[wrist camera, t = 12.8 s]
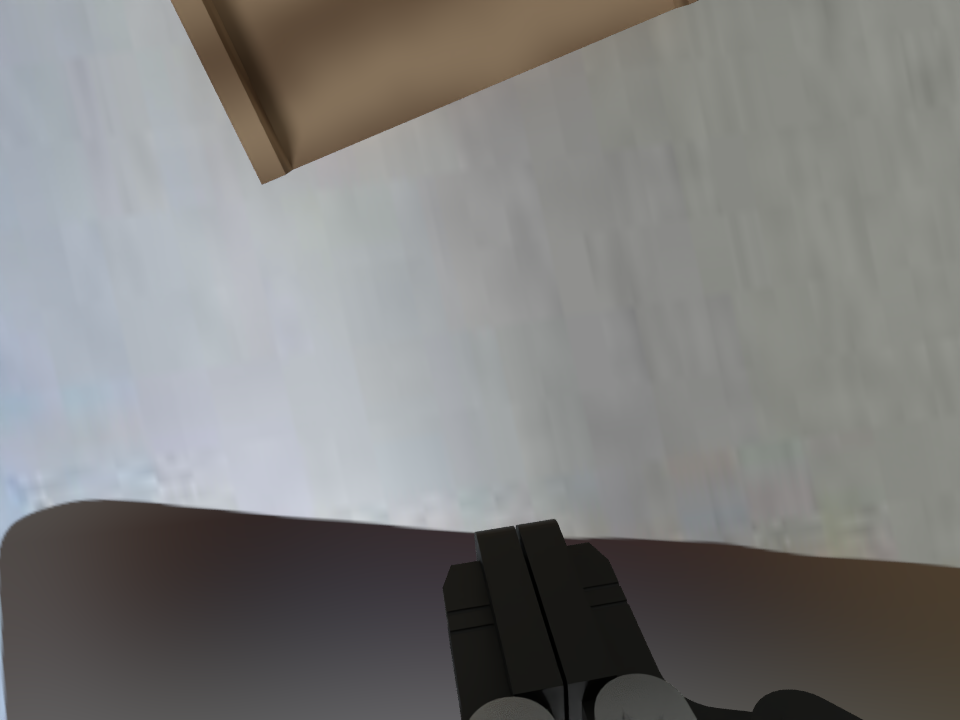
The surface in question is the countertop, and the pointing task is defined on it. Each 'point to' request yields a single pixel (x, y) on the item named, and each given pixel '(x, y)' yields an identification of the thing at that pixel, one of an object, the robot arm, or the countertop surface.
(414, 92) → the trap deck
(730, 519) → the countertop surface
